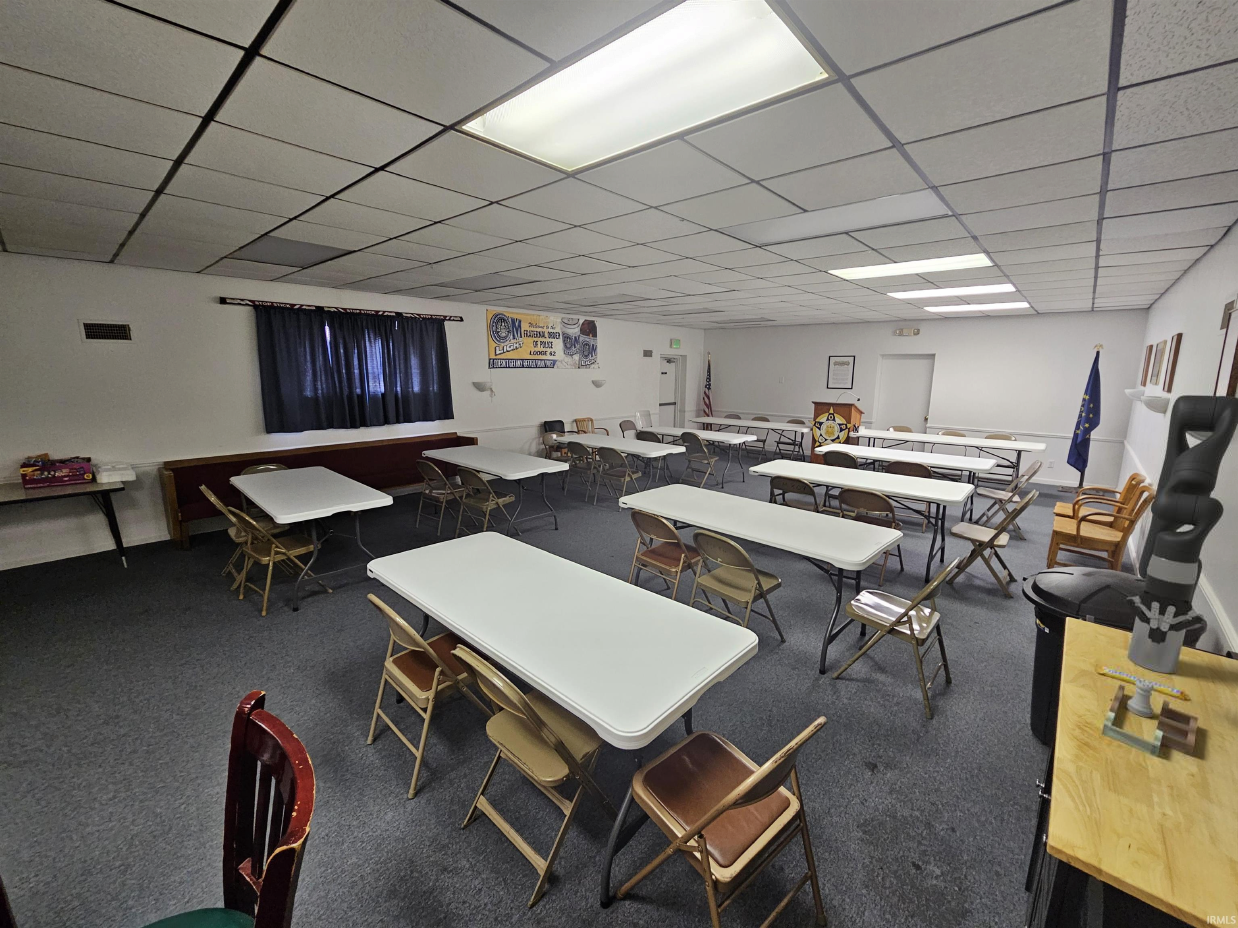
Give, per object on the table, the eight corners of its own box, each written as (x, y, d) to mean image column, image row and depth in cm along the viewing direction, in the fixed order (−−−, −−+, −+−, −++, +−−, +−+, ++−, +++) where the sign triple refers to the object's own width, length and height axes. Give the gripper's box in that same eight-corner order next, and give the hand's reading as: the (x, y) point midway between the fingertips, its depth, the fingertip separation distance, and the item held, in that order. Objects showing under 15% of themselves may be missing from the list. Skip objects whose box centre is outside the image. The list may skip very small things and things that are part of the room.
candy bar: (1186, 696, 121) (1188, 689, 121) (1188, 704, 118) (1190, 697, 118) (1094, 667, 133) (1095, 661, 133) (1094, 674, 130) (1095, 668, 130)
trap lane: (1118, 692, 122) (1119, 684, 122) (1196, 720, 112) (1198, 711, 112) (1101, 733, 108) (1103, 724, 108) (1189, 770, 98) (1192, 760, 98)
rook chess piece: (1137, 704, 118) (1144, 676, 116) (1158, 717, 113) (1165, 688, 112) (1120, 705, 117) (1126, 676, 116) (1140, 718, 113) (1147, 688, 112)
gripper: (1215, 580, 110) (1198, 648, 113) (1132, 563, 120) (1119, 625, 123) (1214, 589, 105) (1196, 660, 108) (1128, 570, 115) (1114, 635, 119)
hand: (1155, 641), depth 116 cm, fingers closed
